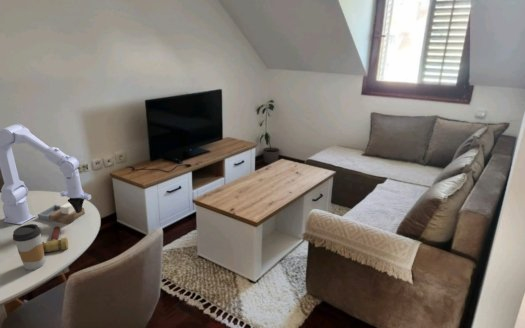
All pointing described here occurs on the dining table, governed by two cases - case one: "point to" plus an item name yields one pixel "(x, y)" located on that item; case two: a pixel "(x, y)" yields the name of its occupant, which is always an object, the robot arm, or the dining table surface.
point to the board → (65, 216)
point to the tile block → (67, 208)
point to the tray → (48, 212)
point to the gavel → (55, 242)
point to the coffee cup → (30, 246)
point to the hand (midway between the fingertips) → (79, 211)
